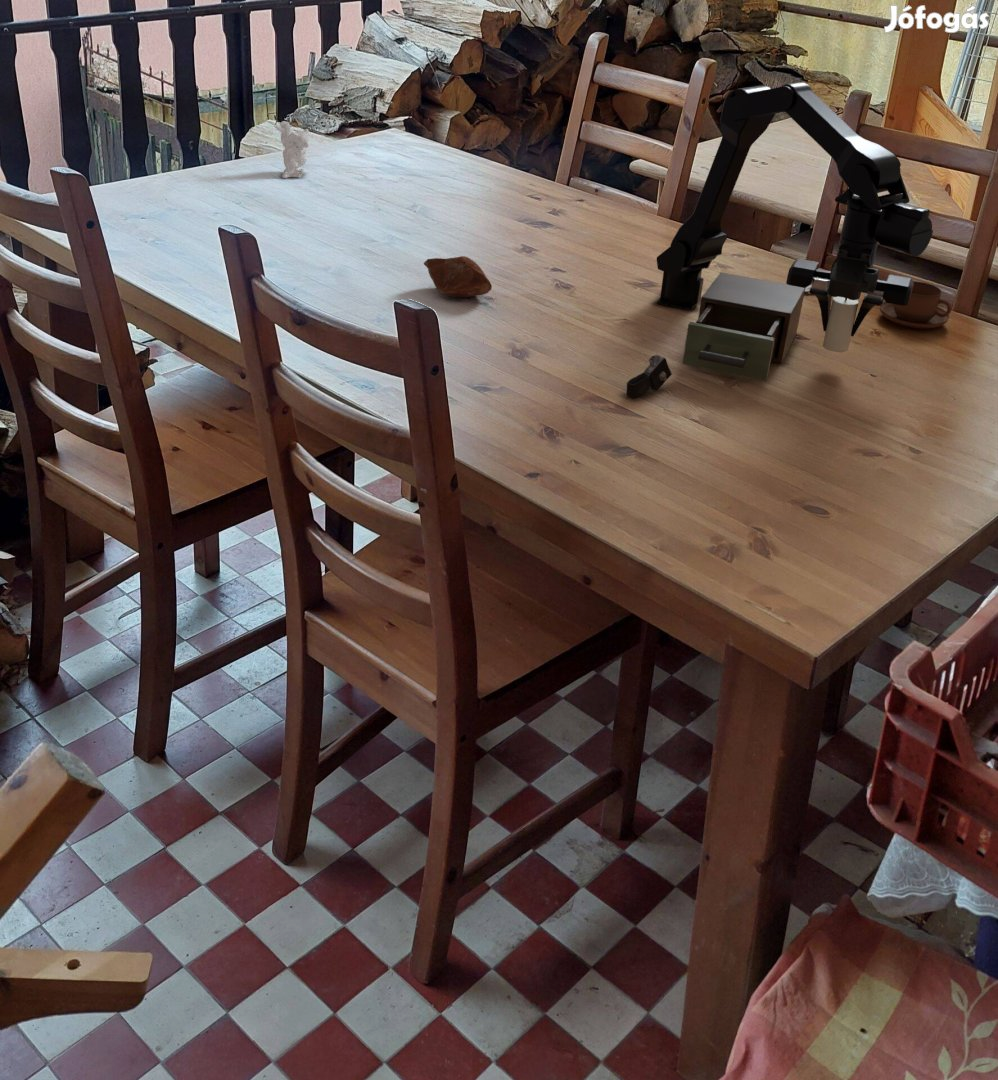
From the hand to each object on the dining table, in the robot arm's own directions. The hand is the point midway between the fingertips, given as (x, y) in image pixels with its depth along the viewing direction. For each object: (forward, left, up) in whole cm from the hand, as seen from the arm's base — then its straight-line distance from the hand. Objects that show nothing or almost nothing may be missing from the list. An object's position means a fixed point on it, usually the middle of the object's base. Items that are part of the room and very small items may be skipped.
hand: (838, 333), depth 189 cm
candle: (0, 0, -2) cm, 2 cm away
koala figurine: (-130, +50, -6) cm, 139 cm away
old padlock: (-24, -24, -6) cm, 34 cm away
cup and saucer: (+10, +28, -6) cm, 30 cm away
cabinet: (-15, +4, -6) cm, 17 cm away
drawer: (-15, -9, -5) cm, 18 cm away
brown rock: (-66, -1, -6) cm, 66 cm away
